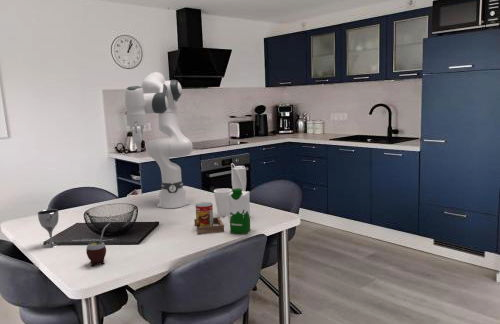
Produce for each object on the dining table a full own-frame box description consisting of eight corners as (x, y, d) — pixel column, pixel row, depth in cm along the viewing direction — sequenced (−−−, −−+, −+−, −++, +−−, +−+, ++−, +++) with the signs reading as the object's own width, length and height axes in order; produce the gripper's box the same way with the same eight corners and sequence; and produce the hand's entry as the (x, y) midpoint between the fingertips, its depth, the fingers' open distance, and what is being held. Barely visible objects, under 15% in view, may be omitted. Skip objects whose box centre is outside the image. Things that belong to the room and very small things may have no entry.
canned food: (197, 226, 201) (196, 202, 199) (214, 226, 201) (212, 201, 200) (196, 232, 194) (194, 206, 192) (213, 231, 194) (211, 205, 192)
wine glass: (48, 249, 178) (44, 215, 175) (37, 246, 182) (33, 212, 179) (65, 243, 184) (62, 210, 182) (54, 240, 188) (51, 208, 186)
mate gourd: (83, 265, 158) (79, 227, 156) (98, 258, 166) (94, 221, 163) (99, 268, 156) (95, 229, 153) (113, 260, 163) (110, 222, 161)
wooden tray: (194, 225, 204) (194, 219, 203) (219, 222, 206) (219, 216, 206) (197, 234, 190) (197, 228, 189) (224, 231, 192) (223, 225, 192)
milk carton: (228, 233, 189) (225, 190, 186) (235, 227, 198) (233, 185, 195) (246, 235, 186) (244, 191, 183) (252, 228, 195) (251, 186, 192)
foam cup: (234, 212, 225) (233, 188, 223) (231, 217, 215) (230, 192, 213) (216, 212, 225) (215, 188, 223) (213, 217, 216) (212, 192, 214)
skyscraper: (229, 219, 211) (227, 164, 207) (236, 215, 218) (233, 161, 214) (245, 220, 208) (242, 164, 204) (251, 216, 215) (249, 162, 211)
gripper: (142, 122, 186) (145, 153, 188) (144, 120, 206) (146, 148, 208) (128, 123, 185) (130, 154, 187) (130, 120, 205) (133, 149, 207)
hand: (139, 151), depth 198 cm, fingers closed
